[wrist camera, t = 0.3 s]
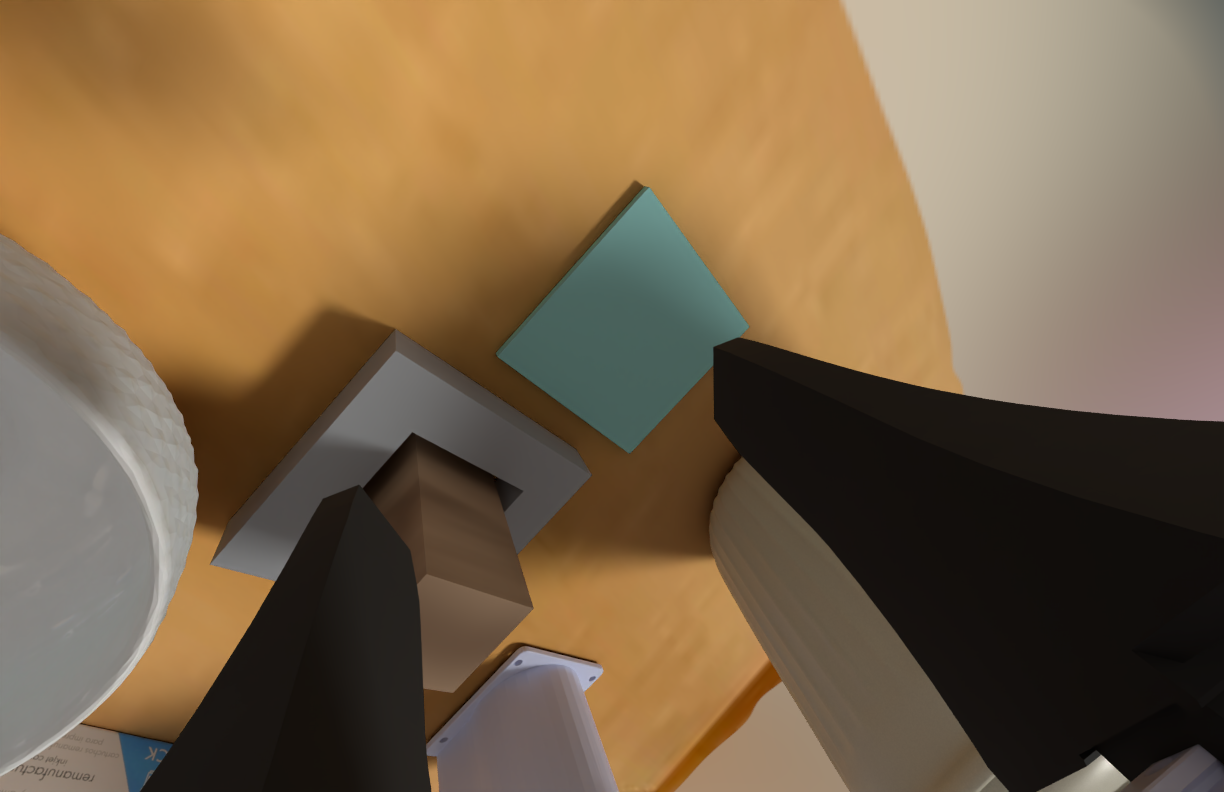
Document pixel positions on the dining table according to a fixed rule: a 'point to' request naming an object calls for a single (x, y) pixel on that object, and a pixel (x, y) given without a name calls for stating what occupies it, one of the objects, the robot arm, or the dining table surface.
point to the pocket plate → (376, 427)
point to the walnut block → (453, 556)
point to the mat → (627, 326)
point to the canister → (847, 655)
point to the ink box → (89, 763)
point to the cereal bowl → (79, 505)
